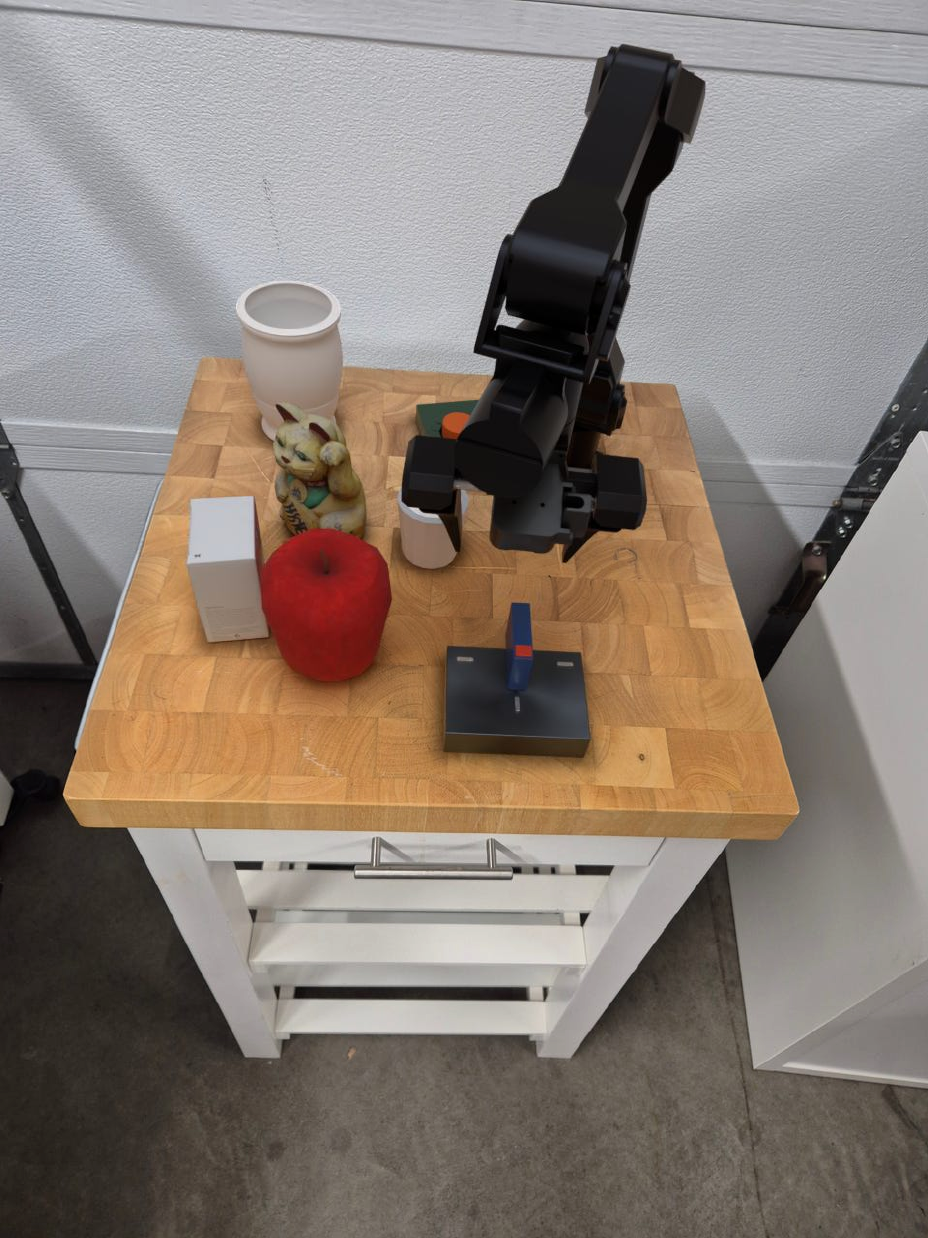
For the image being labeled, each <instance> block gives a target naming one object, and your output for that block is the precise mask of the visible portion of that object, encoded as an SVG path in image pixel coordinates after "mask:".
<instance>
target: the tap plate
mask: <svg viewBox="0 0 928 1238" xmlns="http://www.w3.org/2000/svg"><path fill="white" fill-rule="evenodd" d="M582 656H583V655H582V652H581V651H563V650H543V649H533V663H532V667H531V671H530V675H529V679H528V683H527V687H526V690H507V670H506V647H504V648H502V647H485V646H484V647H483V646H465V645H463V646H461V645H446V651H445V659H444V662H445V663H444V681H443V682H444V683H443V685H444V686H443V688H444V689H443V691H444V692H443V733H442V734H443V735H442V736H443V738H442V752H445V753H446V752H447V753H467V754H469V753H470V754H495V755H519V756H539V757H540V756H541V757H542V756H544V757H565V758H585V755H586V753H587V751H588V748H589V745H590V743H591V740H592V737H591V728H590V718H589V710H588V709H589V708H588V702H587V692H586V684H585V675H584V666H583V657H582Z"/></svg>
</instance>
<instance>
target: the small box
mask: <svg viewBox="0 0 928 1238" xmlns="http://www.w3.org/2000/svg"><path fill="white" fill-rule="evenodd" d="M256 503H257V502H256V497H255V496H254V495H245V496H244V495H242V496H241V495H240V496H224V497H222V496H221V497H204V498H202V497H201V498H191V499H190V500H189V524H188V525H189V526H188V541H187V542H188V543H187V554H186V562H185V565H186V569H187V572H188V576H189V580H190V583H191V586H192V591H193V595H194V599H195V603H196V607H197V610H198V613H199V617H200V621H201V624H202V629H203V631H204V634H205V638H206V641H207V643H219V642H229V641H241V640H252V639H263V638H269V637H270V629H269V628H270V626H269V624H268V622H267V619H266V617H265V615H264V613H263V610H262V604H261V579H260V570H261V569H262V567H263V566H264V564H265V563H266V561H265V555H264V549H263V547H264V546H263V543H262V537H261V529H260V522H259V516H258V509H257V504H256Z"/></svg>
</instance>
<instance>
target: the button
mask: <svg viewBox="0 0 928 1238" xmlns="http://www.w3.org/2000/svg"><path fill="white" fill-rule="evenodd" d="M469 417H470V415H468V414H465V413H461V412H454V413H450V414H448V415H446V416H445V417H444V418H443V422H442V437H443V438H449V439H457V438H458V436H459V434H460V433H461V431H462V429H463V427H464V426H465V424H466V422H467V420H468V419H469Z"/></svg>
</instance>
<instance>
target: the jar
mask: <svg viewBox="0 0 928 1238" xmlns="http://www.w3.org/2000/svg"><path fill="white" fill-rule="evenodd" d="M235 312H236V318H237V320H238V322H239V323H240V325H241V337H240V339H241V340H240V341H241V343H240V345H241V347H240V348H241V356H242V364H243V369H244V372H245V376H246V379H247V382H248V384H249V387H250V390H251V394H252V397H253V401H254V403H255V405H256V407H257V409H258V411H259V413H260V415H262V418H261V429H262V431H263V433H264V434H265V435H266V437H268V439H269V440H272V441H273V442H274V441H275V436H276V433H277V431H278V429H279V427H280V426H281V424H282V423H283V422H284V420H283V418H282V416H281V415H280V413H279V412H278V410H277V408H276V405H275V404H278V403H281V402H284V403H291V404H294V405H296V406H298V407H300V408H301V409H302V410H303V411H304V412H305V413H307V414H313V415H319V416H322V417H325V418H327V419H329V420H331V421H332V422H334V423H335V424H336V425H337V418H336V417H335V411H336V409H337V407H338V403H339V399H340V391H341V386H342V385H341V384H342V378H343V369H344V353H343V344H342V338H341V334H340V330H339V326H338V325H339V323H340V321H341V317H342V306H341V303H340V301H339V299H338V298H337V297H336V295H334V294H333V293H332V292H331V291H329V290H328V289H326V288H324V287H323V286H322V287H321V286H320V285H317V284H313V283H310V282H305V281H299V280H274V281H269V282H264V283H260V284H256V285H255V286H253V287H250V288H248V289H246V290H245V291H244V292H243V293H242V294H241V295H240V296H239V297H238V299H237V301H236V305H235Z"/></svg>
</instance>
